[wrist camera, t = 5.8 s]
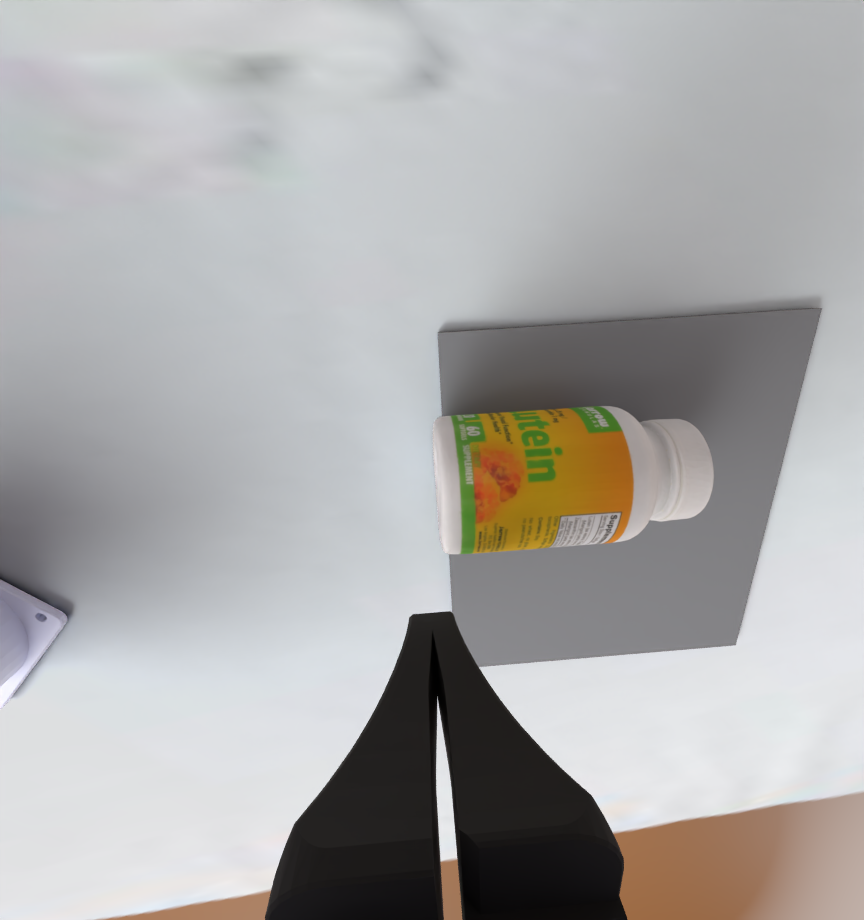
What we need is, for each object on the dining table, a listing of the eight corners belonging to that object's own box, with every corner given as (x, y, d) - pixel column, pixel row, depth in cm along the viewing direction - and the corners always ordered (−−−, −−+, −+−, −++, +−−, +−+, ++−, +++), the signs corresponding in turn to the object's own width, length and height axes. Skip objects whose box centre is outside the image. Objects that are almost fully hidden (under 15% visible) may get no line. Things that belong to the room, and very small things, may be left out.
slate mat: (455, 663, 23) (455, 668, 23) (437, 332, 17) (438, 333, 17) (730, 639, 24) (735, 645, 23) (812, 308, 17) (821, 308, 17)
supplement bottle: (429, 387, 15) (680, 370, 16) (432, 470, 20) (630, 456, 20) (442, 509, 12) (759, 485, 12) (442, 578, 16) (678, 560, 17)
